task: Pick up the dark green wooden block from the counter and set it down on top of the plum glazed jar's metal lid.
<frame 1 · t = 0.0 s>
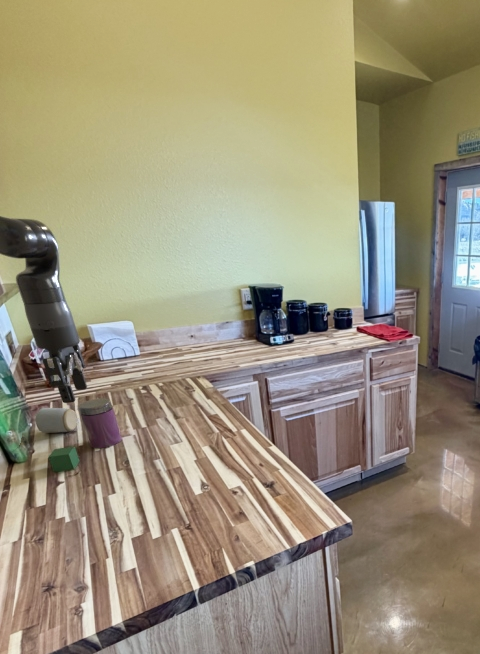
hand: (75, 395, 94), 22 cm above the counter, tool pointing down, fingers open, 8 cm apart
block: (67, 466, 109), on the counter
jar lid: (94, 405, 117), point 12 cm above the counter, screwed on, not yet turned
jar: (106, 441, 122), on the counter
grey canister: (63, 429, 130), on the counter
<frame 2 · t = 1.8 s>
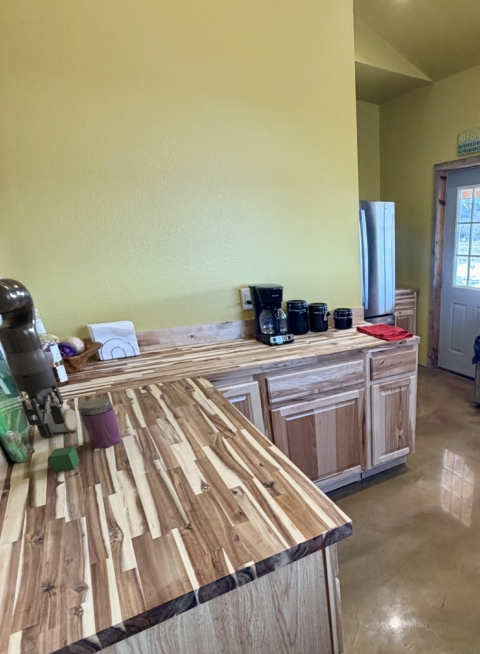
hand: (54, 430, 104), 11 cm above the counter, tool pointing down, fingers open, 8 cm apart
nothing on the counter moved.
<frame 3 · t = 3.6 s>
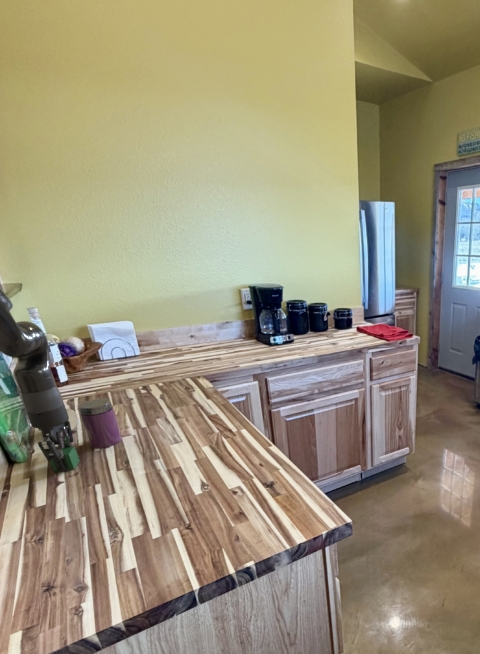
hand: (66, 465, 109), 0 cm above the counter, tool pointing down, fingers closed on block, 4 cm apart
block: (67, 466, 109), on the counter, touching gripper
everything else where it was.
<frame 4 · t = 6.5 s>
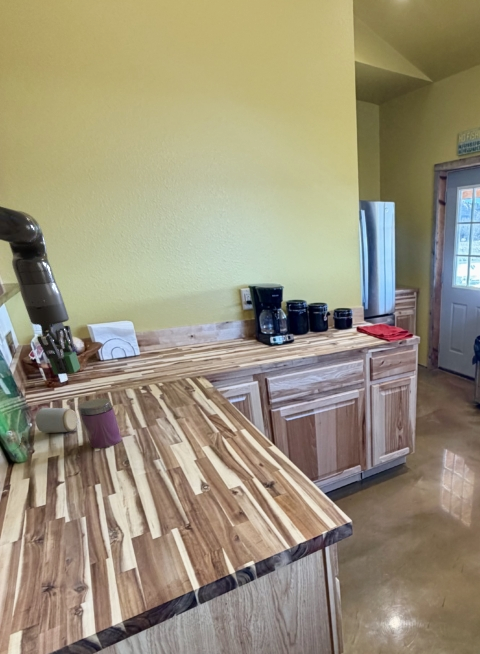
hand: (67, 369, 107), 24 cm above the counter, tool pointing down, fingers closed on block, 4 cm apart
block: (67, 371, 107), point 23 cm above the counter, touching gripper
everything else where it was.
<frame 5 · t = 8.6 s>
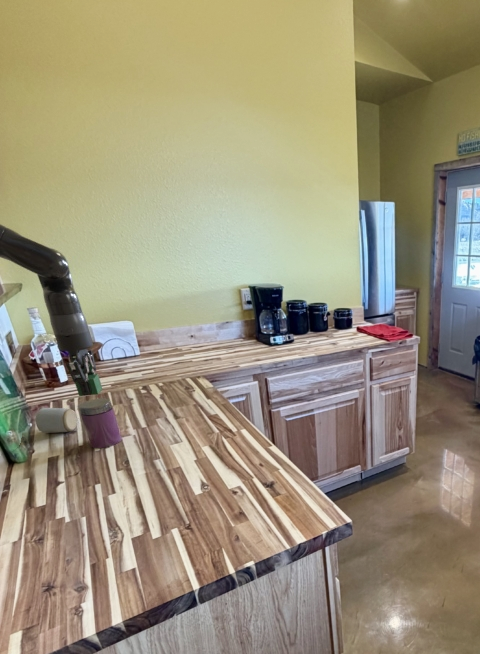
hand: (90, 391, 115), 16 cm above the counter, tool pointing down, fingers closed on block, 4 cm apart
block: (91, 392, 116), point 15 cm above the counter, touching gripper
everything else where it was.
when the fingers open (13 cm above the counter, at t = 9.9 s): block stays where it is, resting on jar lid.
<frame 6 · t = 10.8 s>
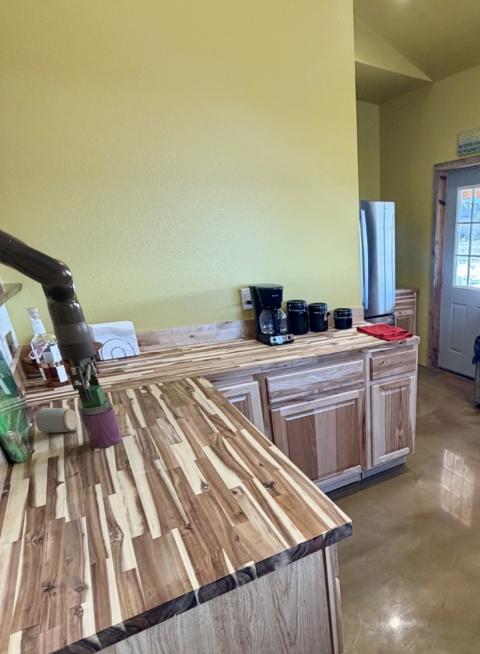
hand: (92, 396, 116), 14 cm above the counter, tool pointing down, fingers open, 8 cm apart
block: (94, 403, 117), point 12 cm above the counter, touching jar lid
jar lid: (94, 405, 117), point 12 cm above the counter, screwed on, not yet turned, touching block
everything else where it was.
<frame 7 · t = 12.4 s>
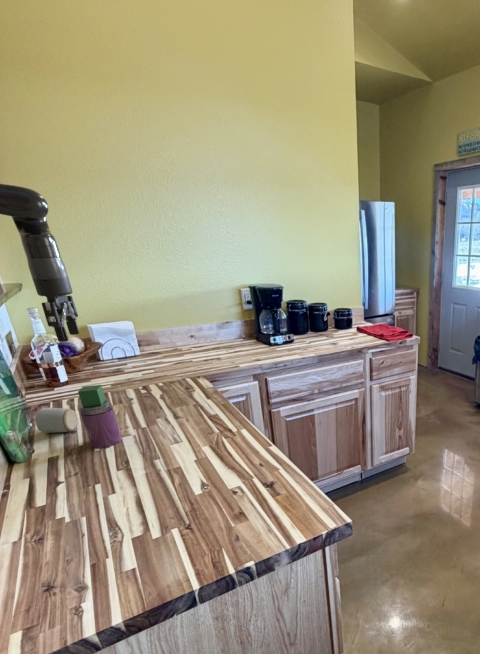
hand: (69, 337, 114), 30 cm above the counter, tool pointing down, fingers open, 8 cm apart
nothing on the counter moved.
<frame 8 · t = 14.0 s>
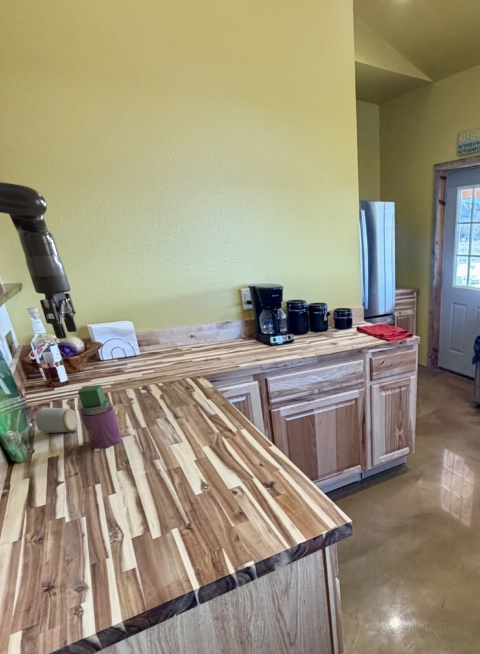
hand: (67, 335, 115), 30 cm above the counter, tool pointing down, fingers open, 8 cm apart
nothing on the counter moved.
at the end: block 0.0 cm off-centre on the jar, point 12.2 cm above the jar's base; block tilted 0°; jar tilted 0° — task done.
